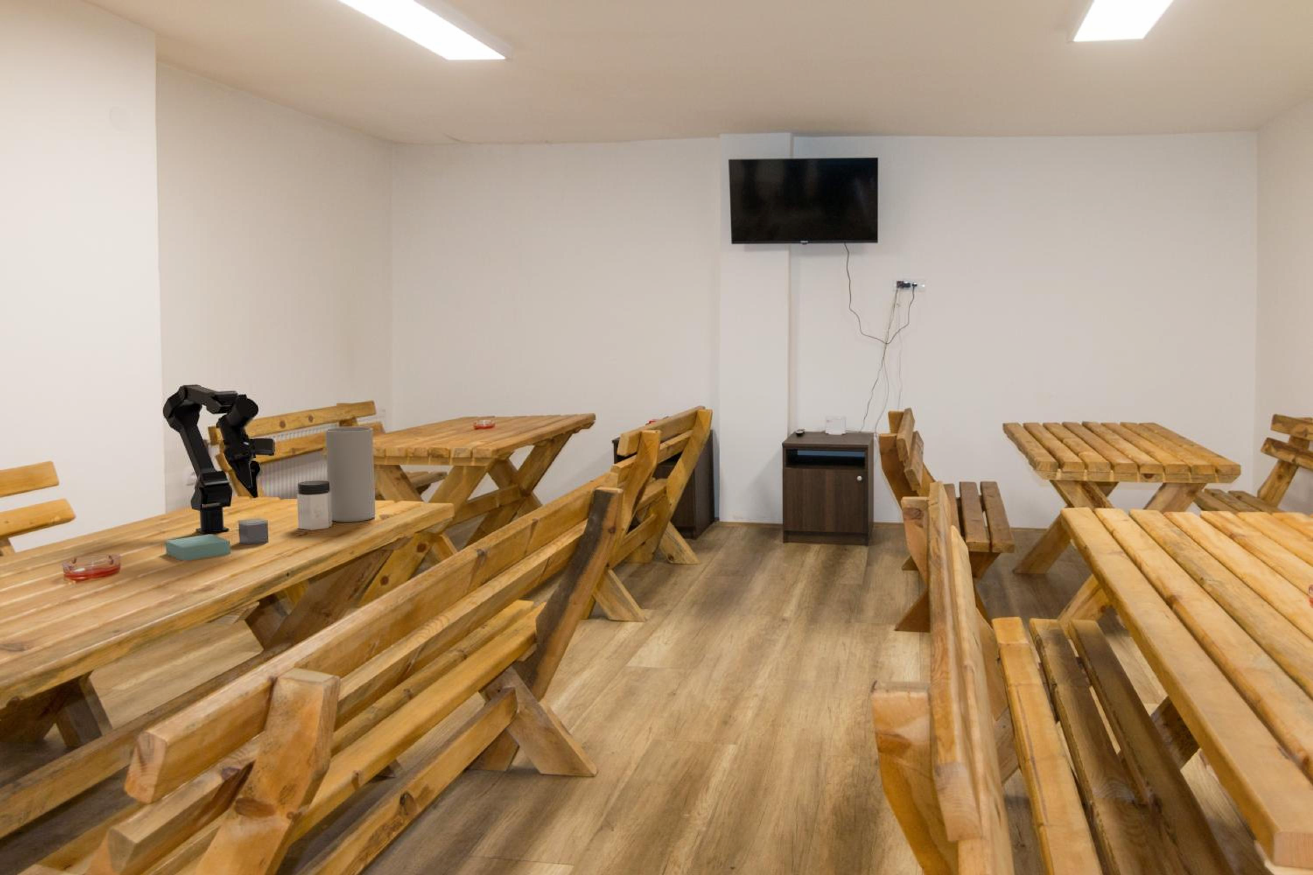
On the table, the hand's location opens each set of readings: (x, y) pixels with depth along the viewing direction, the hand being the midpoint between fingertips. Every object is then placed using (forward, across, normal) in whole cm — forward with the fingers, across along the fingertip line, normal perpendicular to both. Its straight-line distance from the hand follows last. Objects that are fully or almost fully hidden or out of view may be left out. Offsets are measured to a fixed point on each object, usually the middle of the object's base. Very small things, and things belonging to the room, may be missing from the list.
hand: (253, 492), depth 271 cm
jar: (+7, +23, -11) cm, 26 cm away
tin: (+10, +8, +4) cm, 13 cm away
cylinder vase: (+6, +32, -21) cm, 38 cm away
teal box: (+12, -2, +16) cm, 20 cm away
